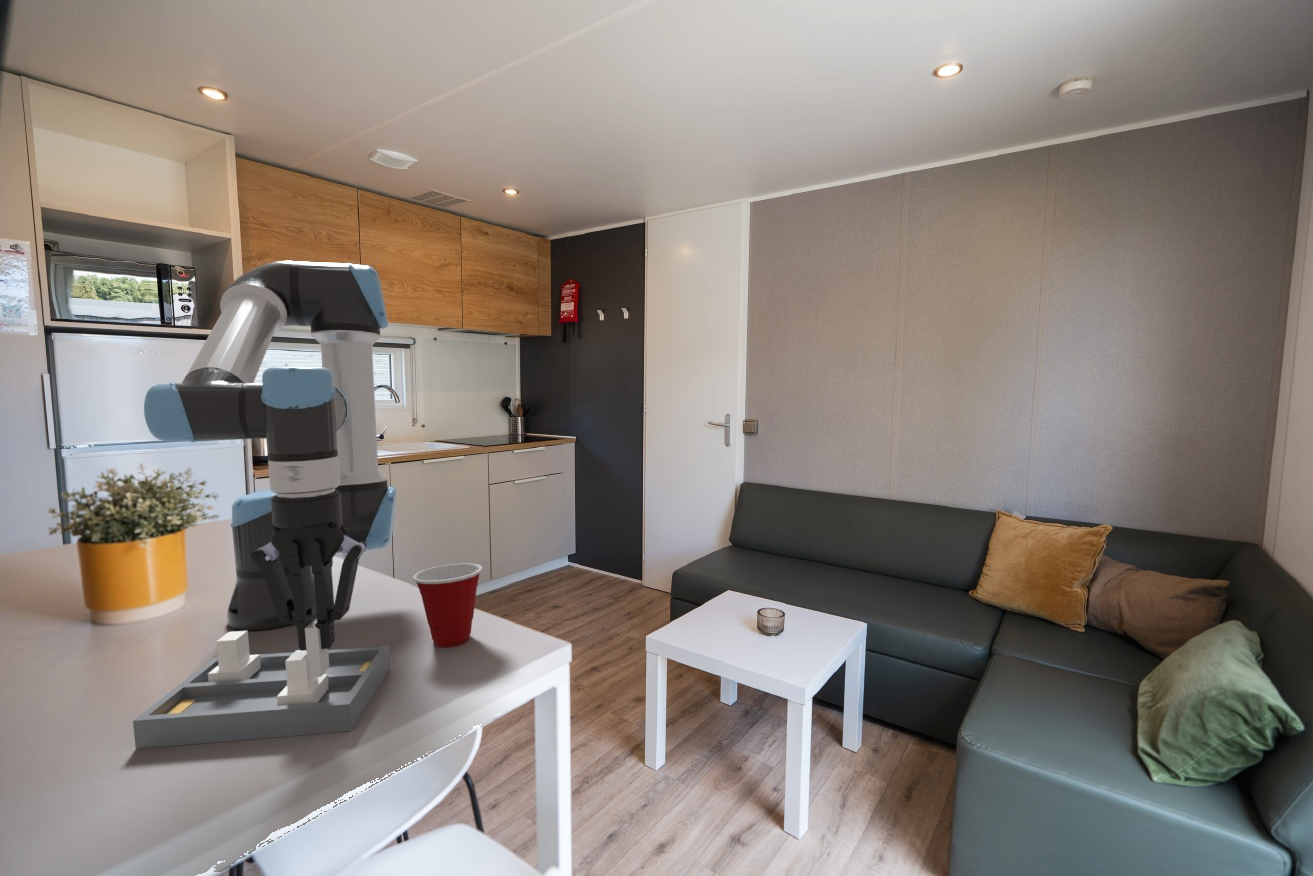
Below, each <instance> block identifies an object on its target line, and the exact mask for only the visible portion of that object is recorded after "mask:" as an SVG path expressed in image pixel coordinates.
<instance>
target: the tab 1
mask: <svg viewBox="0 0 1313 876" xmlns="http://www.w3.org/2000/svg"><path fill="white" fill-rule="evenodd" d="M249 645H250V643H249V630H239V631H237V630H236V631H228V632H226V634H224V635H222V636H221V637H220V638H219V639H218V640H216V651H217V652H216V654H217V657H218V666H217V667H216V668H214V669H213V670H212V671H211V672H209V673H208V681H209V682H216V681H230V680H245V679H249V678H250V677H251V676H253V675H254V674H255V673H256V672H257V671H258V670H259V669H260V668H261V663H260V654H250V653H251V652H250V646H249Z"/></svg>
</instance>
